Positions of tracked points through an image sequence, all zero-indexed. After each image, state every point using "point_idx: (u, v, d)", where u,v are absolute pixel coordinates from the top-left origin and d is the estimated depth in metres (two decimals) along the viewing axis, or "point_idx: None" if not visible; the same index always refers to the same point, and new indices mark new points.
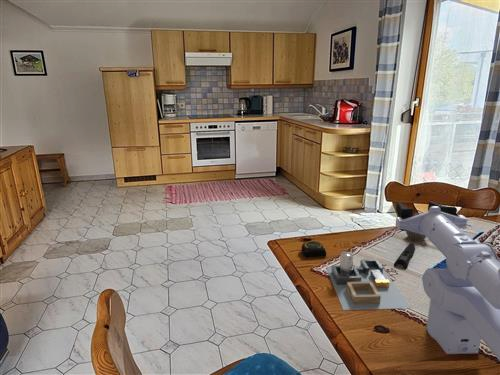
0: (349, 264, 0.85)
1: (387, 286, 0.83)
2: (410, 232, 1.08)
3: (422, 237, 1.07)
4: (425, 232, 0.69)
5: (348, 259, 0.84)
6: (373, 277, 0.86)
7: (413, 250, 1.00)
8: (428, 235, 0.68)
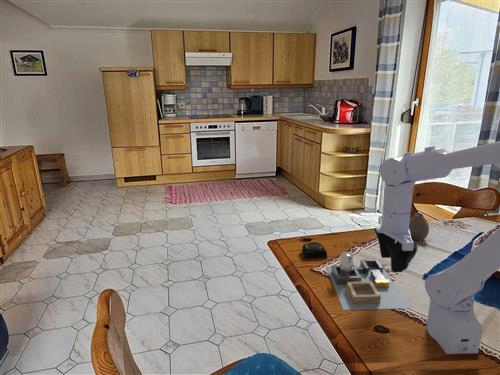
0: (349, 264, 0.85)
1: (387, 286, 0.83)
2: (410, 232, 1.08)
3: (422, 237, 1.07)
4: (403, 222, 0.71)
5: (348, 259, 0.84)
6: (373, 277, 0.86)
7: (415, 250, 0.99)
8: (403, 216, 0.70)
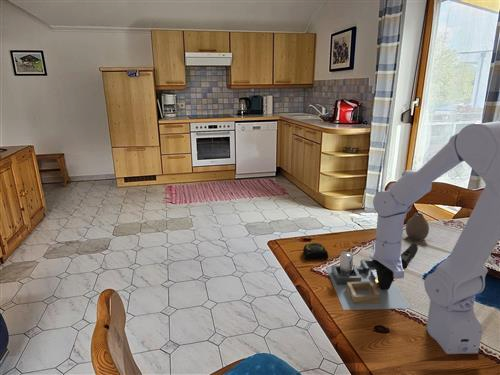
0: (349, 264, 0.85)
1: None
2: (410, 232, 1.08)
3: (422, 237, 1.07)
4: (394, 250, 0.76)
5: (348, 259, 0.84)
6: (373, 277, 0.86)
7: (415, 250, 0.99)
8: (395, 245, 0.75)
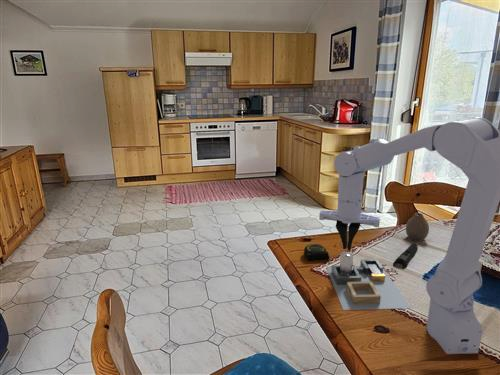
0: (349, 264, 0.85)
1: (383, 280, 0.86)
2: (410, 232, 1.08)
3: (422, 237, 1.07)
4: None
5: (348, 259, 0.84)
6: (369, 271, 0.89)
7: (415, 250, 0.99)
8: (361, 201, 0.81)
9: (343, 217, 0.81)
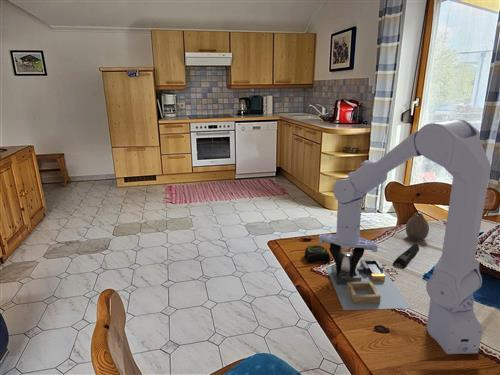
0: (349, 264, 0.85)
1: (383, 280, 0.86)
2: (410, 232, 1.08)
3: (422, 237, 1.07)
4: (359, 231, 0.83)
5: (348, 259, 0.84)
6: (369, 271, 0.89)
7: (416, 250, 0.99)
8: None
9: (342, 242, 0.82)
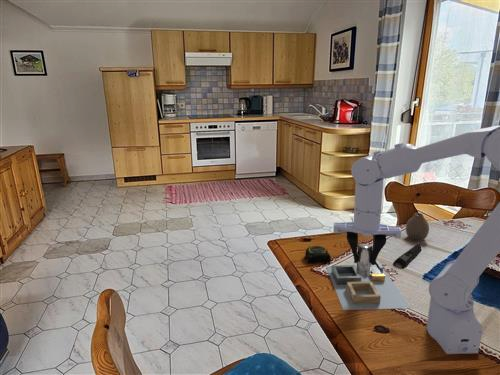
0: (369, 256, 0.76)
1: (383, 280, 0.86)
2: (410, 232, 1.08)
3: (422, 237, 1.07)
4: None
5: (369, 251, 0.76)
6: None
7: (418, 251, 0.99)
8: None
9: (362, 229, 0.73)
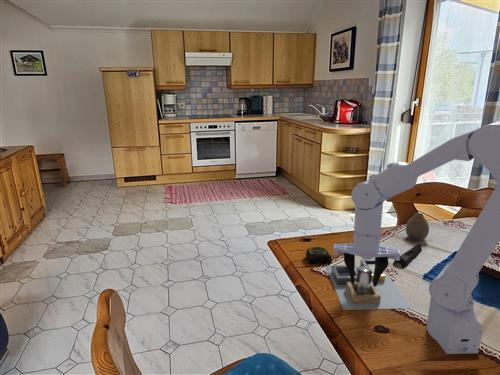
0: (369, 280, 0.78)
1: (383, 280, 0.86)
2: (410, 232, 1.08)
3: (422, 237, 1.07)
4: None
5: (368, 275, 0.77)
6: None
7: (418, 251, 0.99)
8: None
9: (362, 252, 0.74)
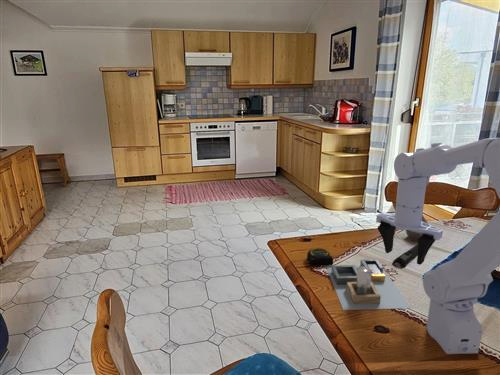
0: (369, 280, 0.78)
1: (383, 280, 0.86)
2: (410, 232, 1.08)
3: None
4: (422, 214, 0.74)
5: (368, 275, 0.77)
6: None
7: None
8: (422, 208, 0.74)
9: (398, 223, 0.75)
